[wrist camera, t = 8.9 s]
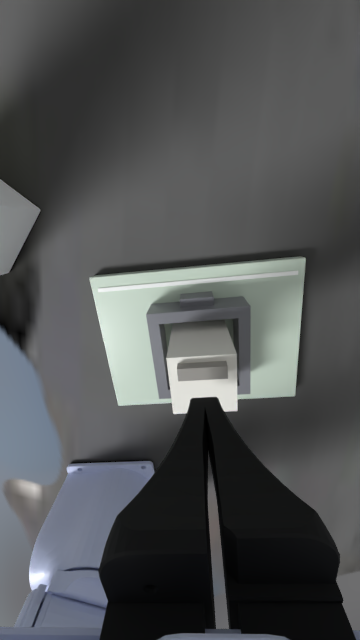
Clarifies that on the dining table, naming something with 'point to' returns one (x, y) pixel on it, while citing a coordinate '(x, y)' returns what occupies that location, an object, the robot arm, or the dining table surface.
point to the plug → (202, 364)
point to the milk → (14, 224)
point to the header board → (203, 305)
